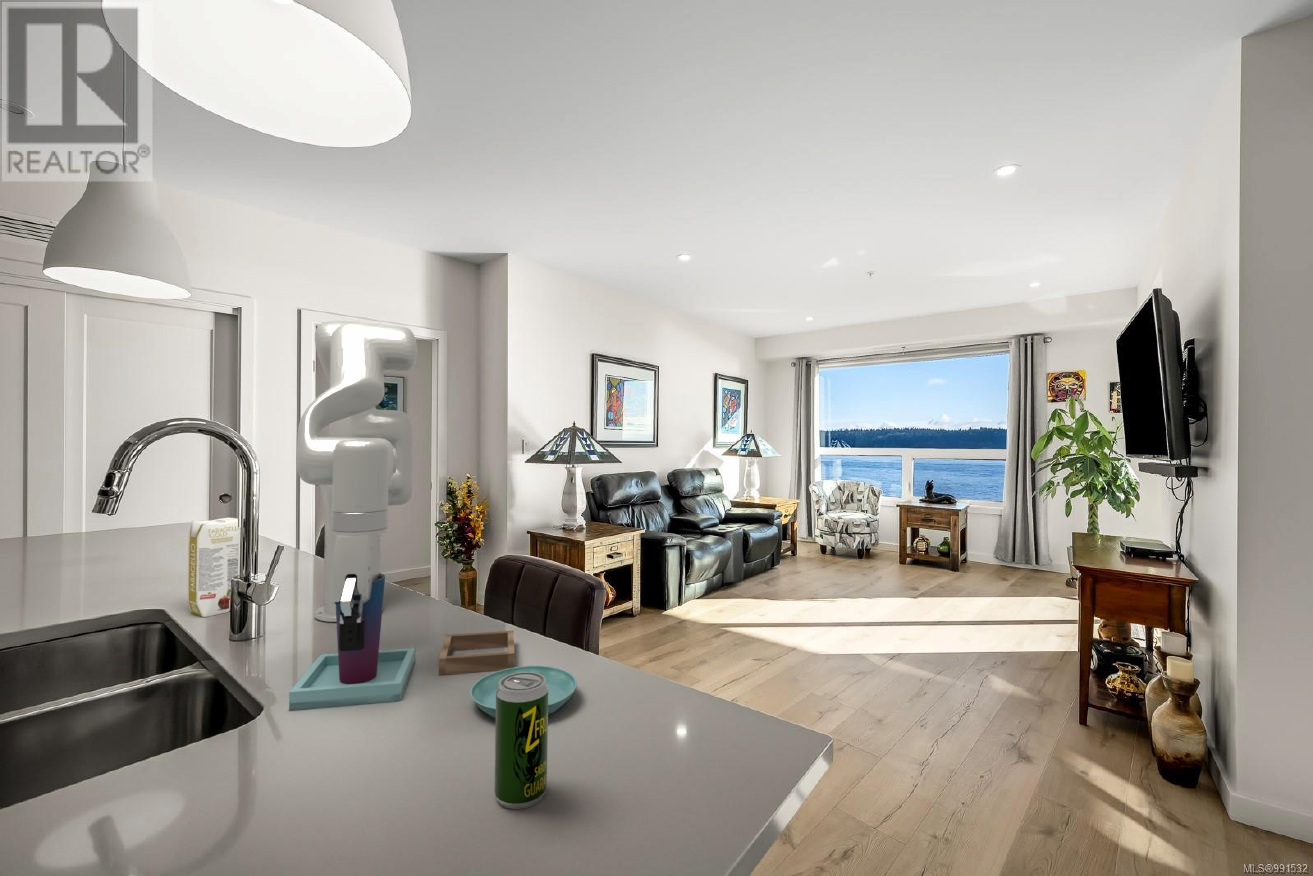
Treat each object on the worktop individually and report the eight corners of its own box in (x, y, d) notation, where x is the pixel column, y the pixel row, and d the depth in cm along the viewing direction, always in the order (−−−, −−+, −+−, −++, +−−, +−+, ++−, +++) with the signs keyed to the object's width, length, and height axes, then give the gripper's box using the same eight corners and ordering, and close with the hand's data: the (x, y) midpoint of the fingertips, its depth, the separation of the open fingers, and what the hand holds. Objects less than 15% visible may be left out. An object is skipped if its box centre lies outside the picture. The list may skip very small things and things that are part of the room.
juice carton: (248, 609, 125) (249, 519, 125) (200, 619, 117) (201, 524, 117) (230, 603, 129) (231, 516, 129) (183, 613, 121) (184, 520, 121)
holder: (445, 649, 104) (446, 634, 104) (513, 644, 107) (513, 630, 107) (438, 675, 93) (438, 659, 93) (514, 669, 95) (514, 653, 95)
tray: (320, 670, 94) (320, 654, 94) (415, 663, 97) (415, 648, 97) (289, 710, 80) (289, 692, 80) (400, 700, 84) (400, 683, 84)
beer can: (483, 803, 61) (485, 687, 61) (514, 775, 66) (516, 668, 66) (528, 816, 59) (529, 696, 59) (556, 787, 64) (558, 676, 64)
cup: (369, 687, 85) (371, 584, 85) (322, 686, 85) (324, 582, 85) (391, 669, 92) (393, 573, 92) (348, 667, 92) (350, 571, 92)
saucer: (521, 674, 94) (522, 658, 94) (597, 696, 86) (597, 678, 86) (446, 711, 81) (446, 692, 81) (527, 741, 74) (527, 719, 74)
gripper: (347, 514, 96) (346, 623, 96) (314, 532, 79) (312, 664, 79) (397, 514, 98) (396, 621, 98) (375, 531, 81) (373, 660, 81)
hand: (358, 639), depth 89 cm, fingers open, 7 cm apart
